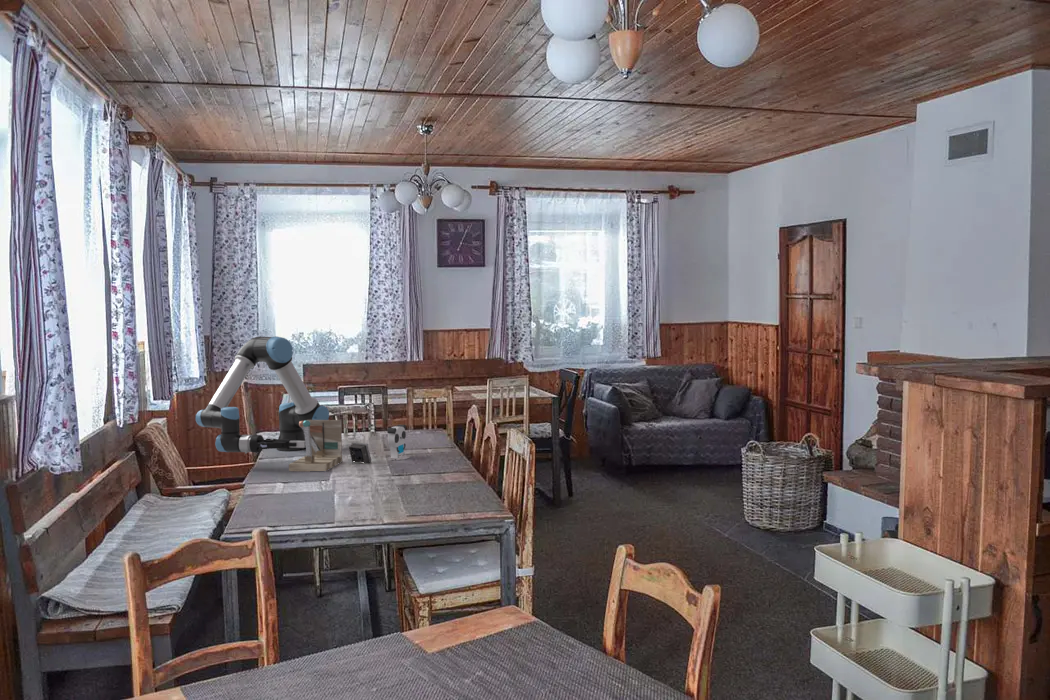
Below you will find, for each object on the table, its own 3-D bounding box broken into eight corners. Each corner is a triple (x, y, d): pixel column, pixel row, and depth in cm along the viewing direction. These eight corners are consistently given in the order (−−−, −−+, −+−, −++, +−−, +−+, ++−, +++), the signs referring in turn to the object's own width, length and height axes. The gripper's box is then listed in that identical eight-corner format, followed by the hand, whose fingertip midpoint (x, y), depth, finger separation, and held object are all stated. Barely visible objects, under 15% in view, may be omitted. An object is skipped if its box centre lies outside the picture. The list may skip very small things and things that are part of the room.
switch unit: (308, 461, 376) (307, 419, 375) (342, 461, 375) (341, 419, 373) (289, 471, 353) (288, 427, 352) (325, 471, 352) (324, 427, 351)
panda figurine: (402, 461, 374) (401, 428, 373) (379, 460, 377) (379, 427, 377) (413, 456, 385) (413, 424, 384) (392, 455, 389) (391, 423, 388)
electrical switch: (372, 462, 372) (370, 442, 370) (363, 465, 367) (362, 445, 366) (356, 460, 377) (355, 440, 375) (348, 463, 372) (346, 443, 371)
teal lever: (307, 459, 357) (303, 419, 357) (314, 458, 357) (311, 419, 356) (304, 460, 354) (301, 420, 353) (312, 459, 354) (308, 420, 353)
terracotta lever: (318, 455, 371) (299, 422, 371) (324, 451, 371) (304, 418, 371) (315, 456, 368) (296, 423, 368) (321, 452, 368) (302, 419, 368)
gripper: (259, 449, 364) (310, 450, 361) (245, 454, 351) (299, 455, 348) (258, 432, 364) (310, 433, 361) (245, 437, 350) (298, 438, 348)
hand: (304, 444), depth 355 cm, fingers closed
